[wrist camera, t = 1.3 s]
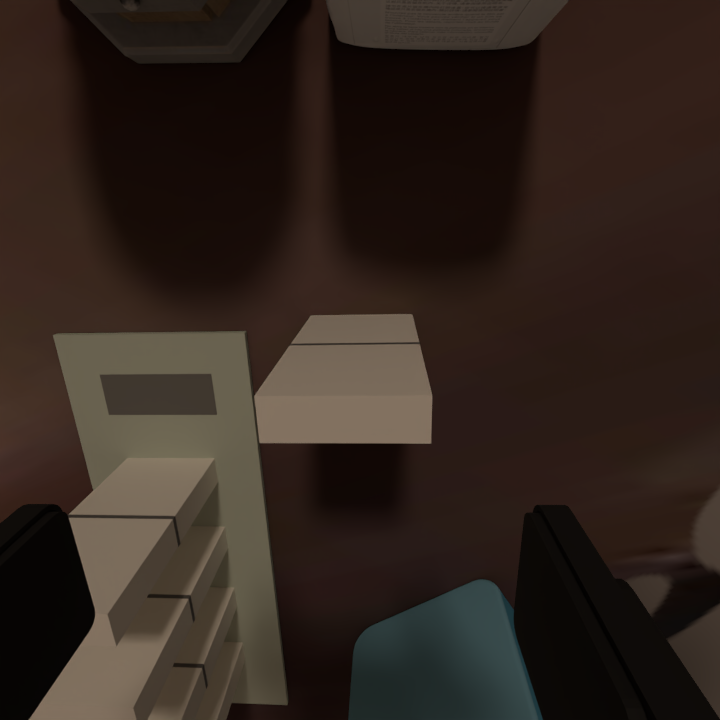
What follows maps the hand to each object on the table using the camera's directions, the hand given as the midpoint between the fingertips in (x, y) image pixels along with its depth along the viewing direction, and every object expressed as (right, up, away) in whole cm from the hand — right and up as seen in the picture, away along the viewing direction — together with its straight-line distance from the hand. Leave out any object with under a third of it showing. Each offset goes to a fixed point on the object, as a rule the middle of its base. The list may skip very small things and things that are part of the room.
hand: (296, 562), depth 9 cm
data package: (+7, -16, +25) cm, 30 cm away
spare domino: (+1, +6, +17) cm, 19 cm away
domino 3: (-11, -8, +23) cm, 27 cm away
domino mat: (-11, -9, +23) cm, 28 cm away
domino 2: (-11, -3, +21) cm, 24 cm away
